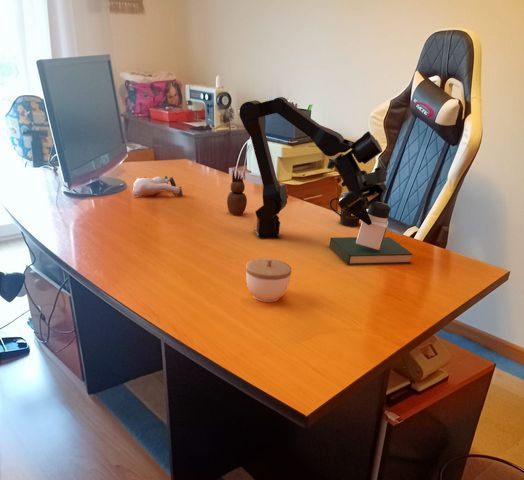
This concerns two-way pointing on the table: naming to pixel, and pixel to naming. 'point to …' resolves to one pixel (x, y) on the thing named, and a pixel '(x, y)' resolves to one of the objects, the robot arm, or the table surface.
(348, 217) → the coffee mug
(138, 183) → the yeti figurine
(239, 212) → the wooden figurine
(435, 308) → the table surface
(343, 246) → the book
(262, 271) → the trinket box
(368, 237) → the medicine bottle
